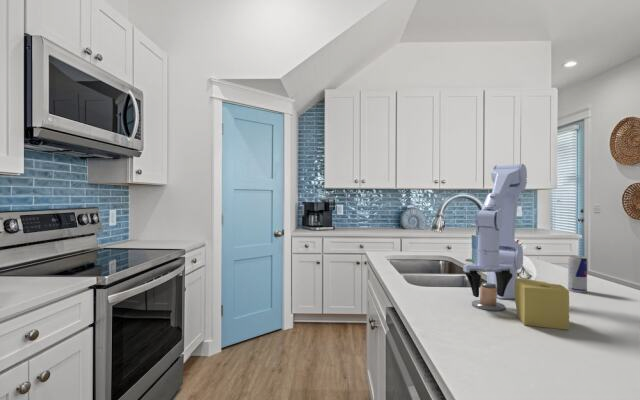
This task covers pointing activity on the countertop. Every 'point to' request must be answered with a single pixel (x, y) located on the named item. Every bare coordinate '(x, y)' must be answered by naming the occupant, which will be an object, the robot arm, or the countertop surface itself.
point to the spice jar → (488, 294)
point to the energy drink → (577, 274)
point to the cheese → (542, 304)
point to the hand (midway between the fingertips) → (488, 296)
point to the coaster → (495, 308)
